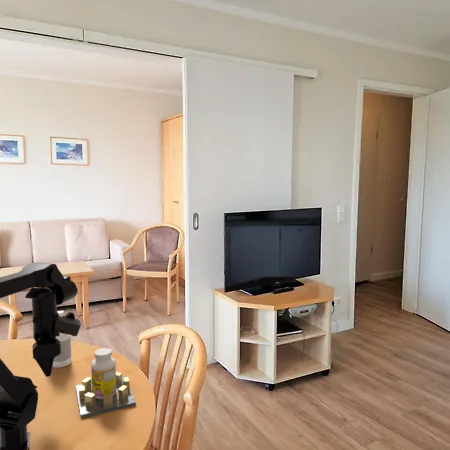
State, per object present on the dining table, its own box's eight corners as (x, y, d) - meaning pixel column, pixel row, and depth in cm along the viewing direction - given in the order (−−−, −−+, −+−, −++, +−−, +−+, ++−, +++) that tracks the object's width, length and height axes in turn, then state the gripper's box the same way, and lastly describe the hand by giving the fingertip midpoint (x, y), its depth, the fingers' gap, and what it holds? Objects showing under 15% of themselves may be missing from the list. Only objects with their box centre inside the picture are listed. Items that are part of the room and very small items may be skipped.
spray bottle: (48, 369, 133) (45, 316, 131) (51, 359, 139) (48, 309, 137) (70, 366, 135) (68, 314, 132) (72, 357, 141) (70, 307, 139)
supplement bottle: (88, 393, 117) (86, 350, 115) (109, 385, 121) (108, 344, 120) (98, 403, 112) (96, 359, 110) (120, 394, 116) (119, 352, 115)
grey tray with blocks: (135, 405, 113) (135, 391, 112) (81, 418, 107) (80, 403, 106) (124, 378, 127) (124, 366, 127) (75, 388, 121) (75, 375, 121)
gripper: (81, 318, 100) (83, 378, 102) (75, 296, 116) (77, 348, 118) (30, 325, 95) (34, 388, 97) (31, 301, 112) (35, 355, 114)
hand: (47, 368), depth 107 cm, fingers open, 9 cm apart
